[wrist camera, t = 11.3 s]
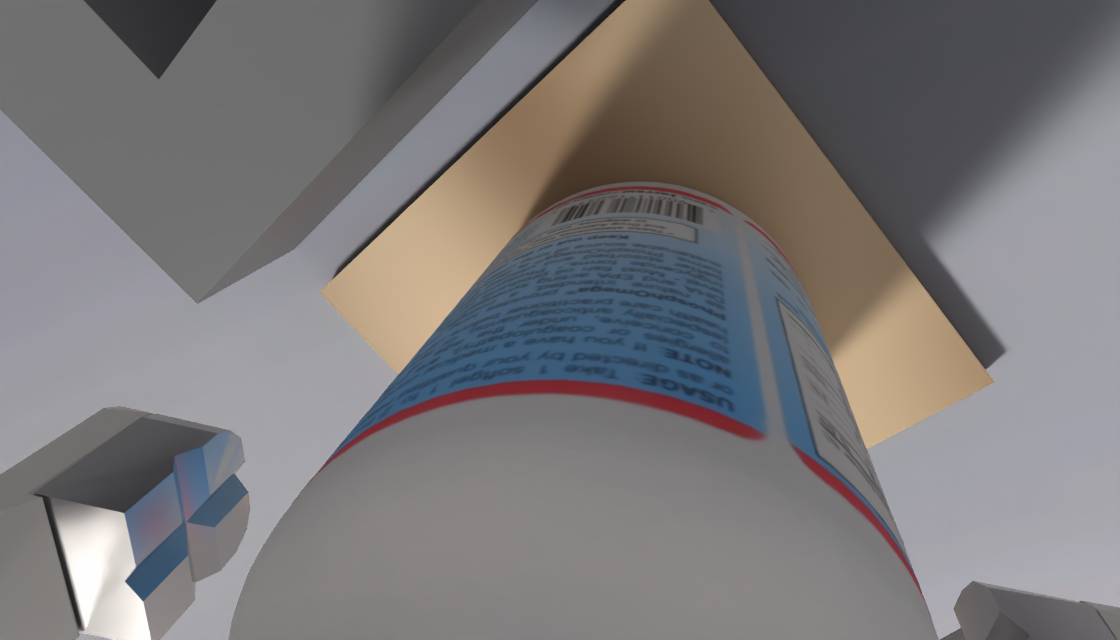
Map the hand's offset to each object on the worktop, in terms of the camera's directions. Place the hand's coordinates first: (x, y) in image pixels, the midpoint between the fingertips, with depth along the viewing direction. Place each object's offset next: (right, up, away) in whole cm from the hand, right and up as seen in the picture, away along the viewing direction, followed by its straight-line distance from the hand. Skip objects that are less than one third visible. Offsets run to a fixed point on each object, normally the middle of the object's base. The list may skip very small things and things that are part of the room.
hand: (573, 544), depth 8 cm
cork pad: (+1, +2, +6) cm, 6 cm away
